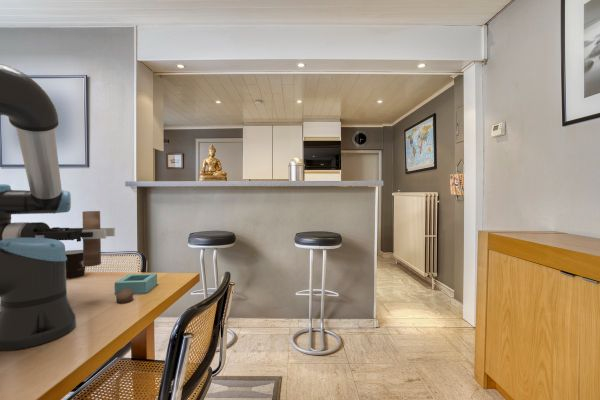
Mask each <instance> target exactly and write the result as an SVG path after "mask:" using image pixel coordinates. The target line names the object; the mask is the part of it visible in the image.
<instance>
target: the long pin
mask: <svg viewBox="0 0 600 400" xmlns="http://www.w3.org/2000/svg"><path fill="white" fill-rule="evenodd" d="M82 228H83V230H100V228H101V211H100V210H87V211H86V210H85V211H82ZM101 241H102V240H101V239H82V250H83V266H85V268H86V267H96V266H99V265H101V264H102V251H101V250H102V249H101V246H102V245H101V244H102V243H101Z"/></svg>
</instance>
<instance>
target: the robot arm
mask: <svg viewBox="0 0 600 400" xmlns="http://www.w3.org/2000/svg"><path fill="white" fill-rule="evenodd" d="M0 116H6V117H8V122H9V123H10V125H11V126H13V127H14V128H15V129H16V133H17V137H18V141H19V145H20V150H21V155H22V159H23V160H22V161H23V164H24V169H25V174H26V178H27V182H28V183H27V184H28V187H29V190H22V189H21V190H19V189H17V190H16V189H14V190H13V189H12V188H11V185H10V184H7V183H5V184H3V183H0V351H14V350H16V351H17V350H21V349H27V348H32V347H34V346H38V345H39V346H40V345H43V344H46V343H48V342H51V341H54V340H56V339H59V338H61V337H63V336H65V335H67V334H68V333H70V332H71V331H73V330H74V329H75V328H76V327H77V317H76V314H75V312H74V310H73V307H72V305H71V303H70V301H69V299H68V295H67V294H68V293H67V278H66V260H67V257H66V246H65V244H64V242H62V241H74V240H76V242H77V243H78V242H79V243H80V242H82V240H83V239H102V240H103V239H104V240H105V239H107V237H116V228H115V227H100V230H83V227H59V226H56V227H50V226H49V224H47V223H46V222H44V221H43V222H40V221H39V222H33V221H32V222H31V221H30V222H28V221H27V222H24V221H23V222H22V221H21V222H12V215H36V214H41V215H43V214H62V213H63V214H64V213H69V212H70V211H71V207H72V206H71V204H72V203H71V202H72V201H71V200H72V199H71V197H72V196H71V192H70V191H69V190H64V189H62V182H61V173H60V165H59V159H58V158H59V157H58V149H57V141H56V140H57V139H56V138H57V137H56V129H57V128H58V127H59V116H58V112H57V109H56V106H55V104H54V103H53V101H52V100H51V97H50V96H49V95H48V93H47V92H46V91H45V90H44V89H43V88H42V87H41V86H40V85H39V83H37V82H36V81H35V80H33V78H31V77H30V76H28V75H27V74H26V73H24V72H22V71H20V70H19V69H16V68H15V67H11V66H9V65H6V64H3V63H0Z"/></svg>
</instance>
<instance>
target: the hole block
mask: <svg viewBox="0 0 600 400" xmlns="http://www.w3.org/2000/svg"><path fill="white" fill-rule="evenodd" d="M156 284H157V285H158V273H131V274H130V273H129V274H127V275H126V276H124V277H121V278H120V279H119V280H117V281H115V282H114V295H115V296H116V292H118V291H120V290H124V289H132V290H133V295H136V294H137V295H138V294H139V295H140V294H147V293H149V292H150V291H151V290H152V289H153V288H154V287H156V286H157V285H156Z"/></svg>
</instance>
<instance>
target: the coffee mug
mask: <svg viewBox="0 0 600 400" xmlns="http://www.w3.org/2000/svg"><path fill="white" fill-rule="evenodd" d="M65 252H66V257H67V260H66V279H76V278H82V277H83V276H85V273H86V267H85V266H83V249H74V250H73V249H72V250H65Z"/></svg>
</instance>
